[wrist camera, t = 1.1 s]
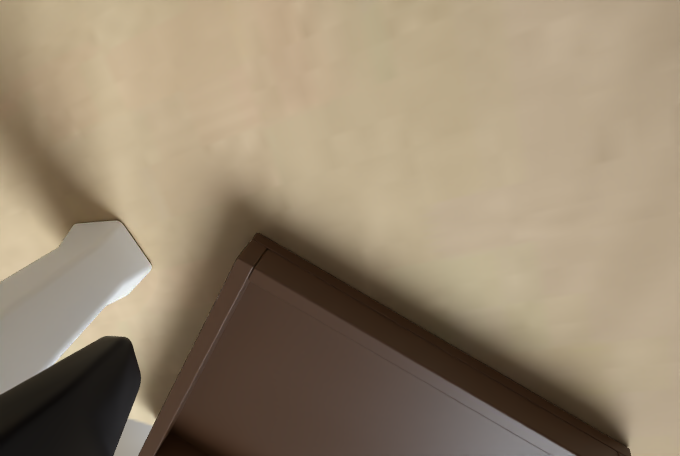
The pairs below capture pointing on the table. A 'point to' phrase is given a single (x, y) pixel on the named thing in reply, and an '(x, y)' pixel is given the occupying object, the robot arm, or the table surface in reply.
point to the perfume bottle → (64, 296)
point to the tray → (343, 380)
